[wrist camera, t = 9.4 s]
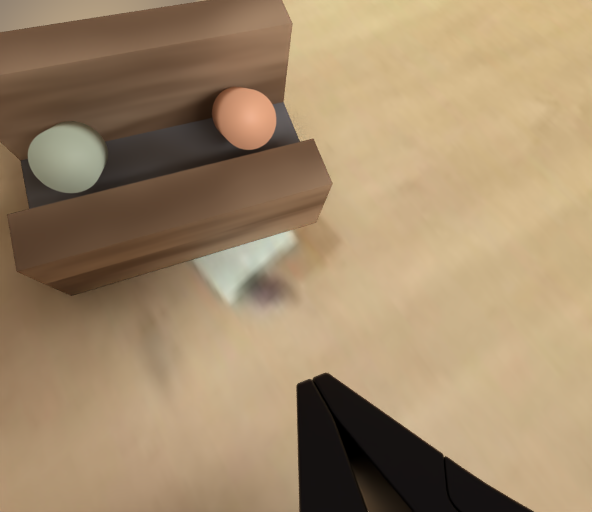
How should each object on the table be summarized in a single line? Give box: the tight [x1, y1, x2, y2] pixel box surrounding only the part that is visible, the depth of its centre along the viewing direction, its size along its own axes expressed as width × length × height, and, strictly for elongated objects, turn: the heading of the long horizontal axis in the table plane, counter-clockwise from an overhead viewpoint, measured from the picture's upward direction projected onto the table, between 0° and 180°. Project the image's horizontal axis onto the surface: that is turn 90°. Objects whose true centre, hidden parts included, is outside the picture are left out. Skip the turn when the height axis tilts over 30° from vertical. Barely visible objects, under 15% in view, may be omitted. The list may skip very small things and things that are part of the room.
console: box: [0, 0, 332, 296], centre depth 21 cm, size 10×16×9 cm, turn 110°
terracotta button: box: [212, 87, 276, 150], centre depth 21 cm, size 4×3×4 cm
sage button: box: [28, 121, 108, 193], centre depth 19 cm, size 4×3×4 cm
